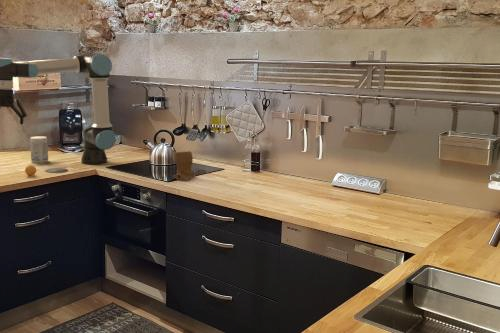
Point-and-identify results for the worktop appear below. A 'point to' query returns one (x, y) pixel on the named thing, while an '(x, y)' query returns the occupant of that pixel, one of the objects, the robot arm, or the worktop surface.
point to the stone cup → (184, 165)
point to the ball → (30, 170)
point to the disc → (56, 170)
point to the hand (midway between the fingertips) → (6, 130)
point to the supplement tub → (39, 149)
